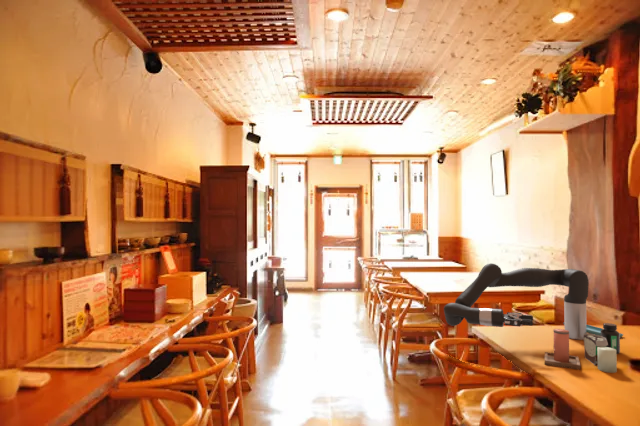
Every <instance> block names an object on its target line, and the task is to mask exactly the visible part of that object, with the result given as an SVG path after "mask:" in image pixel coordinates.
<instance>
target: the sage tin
mask: <svg viewBox="0 0 640 426" xmlns="http://www.w3.org/2000/svg"><path fill="white" fill-rule="evenodd" d="M597 355H598V366H597V369H598V370H599V371H601V372H604V373H608V374H609V373H611V374H615V373H617V372H618V370H617V369H618V368H617V367H618V366H617V365H618V364H617V362H618V361H617V354H616V349H613V348H609V347H597Z"/></svg>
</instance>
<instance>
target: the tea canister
mask: <svg viewBox="0 0 640 426" xmlns="http://www.w3.org/2000/svg"><path fill="white" fill-rule="evenodd" d="M552 332H553V353H554V360H555V361H558V362H564V363H568V362H569V355H570V338H569V331H568V330H565V328H564V329H563V328H554V329H553V330H552Z"/></svg>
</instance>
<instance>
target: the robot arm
mask: <svg viewBox="0 0 640 426" xmlns="http://www.w3.org/2000/svg"><path fill="white" fill-rule="evenodd" d="M551 285H556V286H562V287H567V288H568V294H565V295H564V297H563V304H564V305H563V307H564V308H563V310H564V312H563V313H564V316H563V317H564V319H563V320H564V323H565V325H564V330H568V331H569V339H573V340H583V341H584V338H583V335H584V333H587V326H586V324H587V299H588V297H589V277H588V275H587V273H586V272H584V271H583V270H579V269H575V268H574V269H573V268H565V269H547V268H546V269H545V268H538V267H537V268H536V267H534V268H532V267H524V268H523V267H522V268H518V269H514V270H511V271H507V272H503V271H502V269H501V267H500V266H499V265H498V264H496V263H487V264H485V265H484V266H483V267H482V268H481V270H480V271H479V273H478V275H477V277H476V278H475V279H474V280H473V281H472V282H471V284H470V285H468V286H467V287H466V288H465V289H464V290H463V291H462V292H461V293H460V294H459V295H458V296H457V298H456V299H455V302H449V303H446V304H445V305H444V306H443V313H444V317H445V319H444V320H445V321H446V323H447V325H449V326H451V327H453V326H458V325H460V324H461V323H462V322H463V320H465V321H466V322H467V323H468V324H472V325H479V326H480V325H481V326H484V327H485V326H486V327H496V328H497V327H499V328H503V327H504V325H505V326H512V327H523V326H531V327H532V326H533V325H534V322H533V321H534V316H533V315H531V314H530V315H528V314H523V313H522V312H509V311H507V312H506V313H504V310H503V309H502V308H487V307H483V308H481V307H479V308H478V307H473V305H474V304H475V303H476V302H477V301H478V300H479V298H481V295H482V294H483V293H484V291H486V289H487V288H499V287H525V288H526V287H527V288H529V287H530V288H541V287H545V286H551Z"/></svg>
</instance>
